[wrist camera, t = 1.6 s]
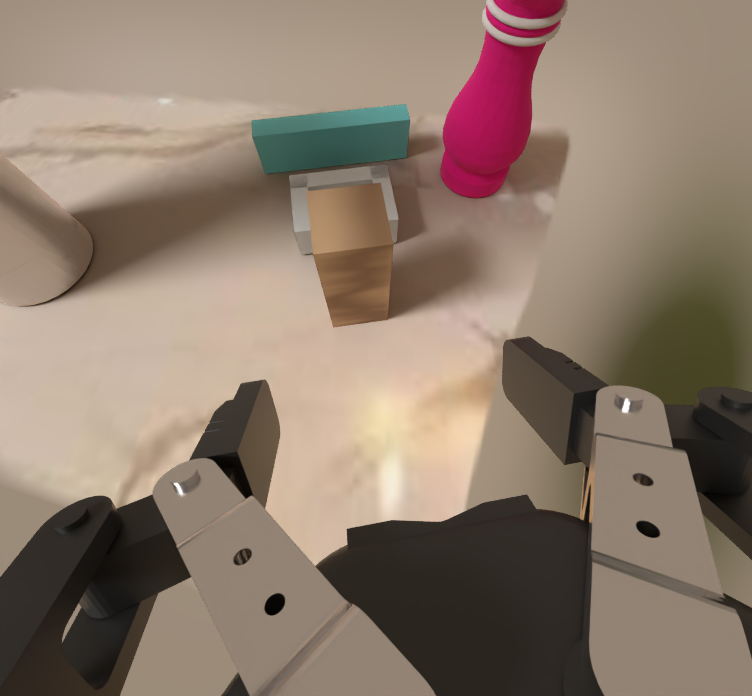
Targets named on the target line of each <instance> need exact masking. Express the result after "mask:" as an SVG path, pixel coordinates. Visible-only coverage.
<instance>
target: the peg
mask: <svg viewBox="0 0 752 696" xmlns="http://www.w3.org/2000/svg"><path fill="white" fill-rule="evenodd" d="M306 193H307V203H308V212H309V221H310V230H311V240H312V249H313V256H314V259H315V263H316V267H317V270H318V274H319V277H320V281H321V285H322V288H323V292H324V295H325V299H326V302H327V306H328V310H329V313H330V317H331V320H332V324H333V327H339V326H346V325H353V324H361V323H368V322H375V321H382V320H388V309H389V296H390V282H391V269H392V256H393V240H392V235H391V230H390V225H389V220H388V215H387V211H386V206H385V201H384V196H383V191H382V186H381V183H373V184H365V185H356V186H348V187H339V188H331V189H322V190H314V191H306Z"/></svg>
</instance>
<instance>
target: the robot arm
mask: <svg viewBox="0 0 752 696" xmlns="http://www.w3.org/2000/svg"><path fill="white" fill-rule="evenodd" d="M92 254H93V242H92V238H91V235H90V233H89V232H88V230H87V229H86V228H85V227H84V226H83V225H82V224H81V223H79V222H78V221H77V220H76V219H75V218H74V217H73V216H71V215H70V214H69V213H68V212H67V211H66V210H65V209H63V208H62V207H61V206H60V205H59V204H58V203H57V202H55V201H54V200H53V199H52V198H51V197H50V196H49V195H48V194H47V193H45V192H44V191H43V190H42V189H41V188H40V187H39V186H37V185H36V184H35V183H34V182H33V181H32V180H30V179H29V178H28V177H27V176H26V175H25V174H24V173H22V172H21V171H20V170H19V169H18V168H17V167H15V166H14V165H13V164H12V163H11V162H10V161H9V160H7V159H6V158H5V157H4V156H3V155H2V154H0V302H1V303H4V304H7V305H11V306H28V305H35V304H39V303H42V302H46V301H48V300H50V299H52V298H55V297H57V296H59V295H60V294H62V293H63V292H65V291H66V290H68V289H69V288H70V287H71V286H73V285H74V284H75V283H76V282H77V281H78V280H79V279H80V277H81V276H82V275H83V274H84V272H85V271H86V269H87V267H88V265H89V263H90V261H91V258H92ZM502 384H503V389H504V392H505V395H506V397H507V398H508V400H509V401H510V402H511V403H512V404H513V405H514V407H515V408H516V409H517V410H518V411H519V412H520V414H521V415H522V416H523V417H524V418H525V419H526V421H527V422H528V423H529V424H530V425H531V426H532V428H534V430H535V431H536V432H537V433H538V435H539V436H540V437H541V438H542V439H543V440H544V442H545V443H546V444H547V445H548V446H549V447H550V448H551V449H552V451H553V452H554V453H555V454H556V456H557V457H558V458H559V459H560V460H561V461H562V463H563V464H564V465H567V464H572V463H578V462H583V463H584V464H585V470H584V477H583V488H582V501H581V513H580V519H579V518H577V517H574V516H571V515H568V514H564V513H560V512H556V511H550V510H543V509H536V508H535V506H534V505H533V503H532V502H531V500H530V499H529V497H528V496H527V495H522V496H517V497H511V498H506V499H501V500H496V501H490V502H485V503H482V504H480V505H478V506H476V507H474V508H471V509H469V510H467V511H465V512H463V513H461V514H458V515H456V516H454V517H452V518H450V519H448V520H445V521H442V522H423V521H397V520H391V521H386V522H381V523H375V524H370V525H365V526H360V527H355V528H349V529H347V542H348V545H346V546H344V547H342V548H340V549H338V550H336V551H335V552H333V553H331V554H330V555H328V556H327V557H326V558H324V559H323V560H322V561H320V562H319V563H318V564H317V565H316V566H314V564H313V563H312V562H311V561H310V560H309V559H308V558H307V556H306V555H305V554H304V553H303V552H302V551H301V550H300V548H299V547H298V546H297V545H296V544H295V543H294V542H293V540H292V539H291V538H290V537H289V536H288V535H287V534H286V533H285V531H284V530H283V529H282V528H281V527H280V526H279V525H278V523H277V522H276V521H275V520H274V519H273V518H272V517H271V515H270V514H269V513H268V512H267V511H266V510H265V507H266V502H267V497H268V492H269V487H270V483H271V478H272V473H273V468H274V463H275V458H276V454H277V449H278V444H279V439H280V425H279V420H278V416H277V413H276V409H275V406H274V402H273V399H272V395H271V392H270V389H269V385H268V383H267V381H266V380H259V381H253V382H247V383H242V384H241V385H240V387H239V389H238V391H237V393H236V395H235V397H234V399H233V400H229V401H226V402H225V403H224V404H223V405H221V406H220V407H219V408H218V409H217V410H216V411H215V412H214V414H213V416H212V418H211V420H210V424H208V426H207V428H206V429H205V433H203V435H202V437H201V439H200V441H199V443H198V445H197V447H196V448H195V450H194V452H193V454H192V456H191V458H190V460H189V461H187V462H184V463H182V464H180V465H178V466H176V467H174V468H172V469H171V470H170V471H168V472H167V473H166V474H164V475H163V476H162V477H161V478H160V479H159V481H158V482H157V483H156V485H155V487H154V489H153V495H150V496H148V497H145V498H143V499H140V500H138V501H135V502H133V503H130V504H128V505H125V506H123V507H120V508H118V509H116V507H115V506H114V504H113V502H112V501H111V499H110V498H108V497H106V496H93V497H89V498H85V499H83V500H80V501H78V502H75V503H73V504H71V505H69V506H67V507H66V508H64V509H63V510H61V511H59V512H58V513H56V514H55V515H54V516H53V517H51V518H50V519H49V520H48V521H46V522H45V523H44V524H43V525H42V526H41V527H40V529H39V530H38V531H37V532H36V533H35V535H34V536H33V537H32V539H31V540H30V541H29V542H28V543H27V545H26V546H25V547H24V548H23V550H22V551H21V552H20V553H19V555H18V556H17V557H16V558H15V560H14V561H13V562H12V563H11V565H10V566H9V567H8V568H7V570H6V571H5V572H4V573H3V575H2V576H1V577H0V696H120V694H121V691H122V688H123V686H124V683H125V680H126V678H127V675H128V672H129V669H130V667H131V664H132V662H133V659H134V656H135V653H136V651H137V648H138V646H139V642H140V640H141V637H142V635H143V632H144V629H145V627H146V624H147V621H148V619H149V616H150V613H151V611H152V608H153V605H154V603H155V600H156V597H157V595H158V593H159V592H161V591H163V590H165V589H167V588H169V587H172V586H174V585H176V584H178V583H180V582H182V581H184V580H186V579H188V578H190V577H192V579H193V581H194V583H195V585H196V587H197V589H198V591H199V593H200V595H201V597H202V599H203V601H204V603H205V605H206V607H207V609H208V611H209V613H210V616H211V617H212V620H213V622H214V624H215V626H216V628H217V630H218V632H219V634H220V636H221V638H222V640H223V642H224V644H225V646H226V648H227V650H228V652H229V654H230V656H231V658H232V660H233V662H234V664H235V666H236V668H237V670H238V673H237V674H236V675H235V677H234V679H233V680H232V681H231V683H230V684H229V685H228V687H227V688H226V690H225V691H224V693H223V694H222V695H221V696H752V608H751V607H749V606H747V605H745V604H743V603H741V602H740V601H737V600H736V599H734V598H732V597H730V596H728V595H726V594H724V593H723V592H722V589H721V586H720V582H719V578H718V574H717V570H716V566H715V562H714V558H713V555H712V551H711V547H710V544H709V539H708V535H707V531H706V527H705V523H704V519H703V515H704V516H705V517H707V518H708V519H709V520H710V521H711V522H712V523H713V524H714V525H715V526H716V527H717V528H718V529H719V530H720V531H722V532H723V533H724V534H725V535H726V536H727V537H728V538H729V539H730V540H731V541H732V542H733V543H734V544H735V545H736V546H737V547H739V548H740V549H741V550H742V551H743V552H744V553H745V554H746V555H747V556H748V557H749V558H750V559H751V560H752V392H748V391H744V390H740V389H735V388H728V387H708V388H705V389H702V390H700V391H699V393H698V395H697V398H696V401H695V405H694V406H693V405H663V403H662V401H661V400H660V399H659V398H657V397H656V396H655V395H653V394H651V393H649V392H647V391H644V390H641V389H638V388H634V387H629V386H609V385H607V384H606V383H604V382H603V381H601V380H600V379H599V378H597V377H596V376H594V375H593V374H591V373H590V372H588V371H587V370H586V369H582V367H581V366H580V365H578V364H577V363H576V362H573V360H571V359H570V358H568V357H567V356H565V355H564V354H563V353H560V352H557V351H555V350H552V349H549V348H545V347H543V346H542V345H541V344H539V343H538V342H536V341H535V340H534V339H532V338H531V337H522V338H516V339H510V340H506V341H505V342H504V346H503V371H502ZM702 514H703V515H702ZM78 603H79V604H80V605H81V607H82V608H81V609H80V611H79V613H78V615H77V617H76V619H75V621H74V622H73V624H72V626H71V628H70V630H69V632H68V633H67V635H66V637H65V639H64V641H63V643H62V637H63V633H64V630H65V627H66V625H67V623H68V621H69V619H70V617H71V616H72V614H73V611H74V610H75V608H76V606H77V605H78Z"/></svg>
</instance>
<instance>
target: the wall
mask: <svg viewBox="0 0 752 696" xmlns="http://www.w3.org/2000/svg"><path fill="white" fill-rule="evenodd" d="M409 126H410V117H409V113H408V110H407V106H406V104H404V105H394V106H384V107H375V108H365V109H356V110H347V111H337V112H328V113H318V114H309V115H300V116H290V117H281V118H271V119H262V120H253V121H252V137H253V140H254V143H255V146H256V149H257V151H258V154H259V157H260V160H261V162H262V165H263V168H264V171H265V173H266V174H270V173H278V172H287V171H296V170H305V169H313V168H322V167H331V166H339V165H348V164H357V163H366V162H374V161H383V160H392V159H400V158H406V157H407V147H408V137H409Z"/></svg>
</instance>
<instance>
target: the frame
mask: <svg viewBox="0 0 752 696" xmlns="http://www.w3.org/2000/svg"><path fill="white" fill-rule="evenodd" d="M289 181H290V192H291V203H292V215H293V226H294V234H295V237H296V240H297V243H298V246H299V249H300V252H301V255H302V254H310V253H313V249H312V240H311V230H310V221H309V212H308V203H307V193H306V191H314V190H322V189H331V188H339V187H348V186H356V185H365V184H373V183H381V186H382V191H383V196H384V201H385V206H386V211H387V215H388V220H389V225H390V230H391V235H392V240H393V243H396V242H397V233H398V222H399V218H398V214H397V209H396V205H395V200H394V195H393V191H392V186H391V181H390V177H389V172H388V168H387V164H383V165H375V166H366V167H357V168H349V169H340V170H331V171H323V172H314V173H305V174H297V175H289Z"/></svg>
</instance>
